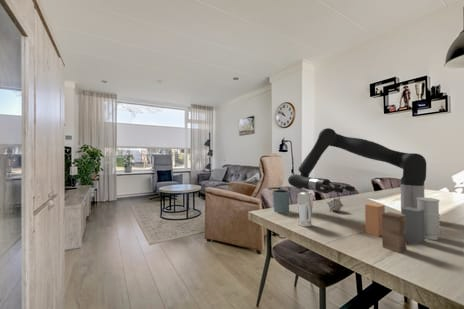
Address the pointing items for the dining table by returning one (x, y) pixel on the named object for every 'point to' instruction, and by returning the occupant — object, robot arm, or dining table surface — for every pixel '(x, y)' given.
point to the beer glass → (305, 208)
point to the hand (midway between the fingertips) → (348, 189)
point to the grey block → (414, 224)
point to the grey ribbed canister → (430, 216)
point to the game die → (335, 204)
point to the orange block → (374, 218)
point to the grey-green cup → (281, 200)
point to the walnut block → (394, 231)
